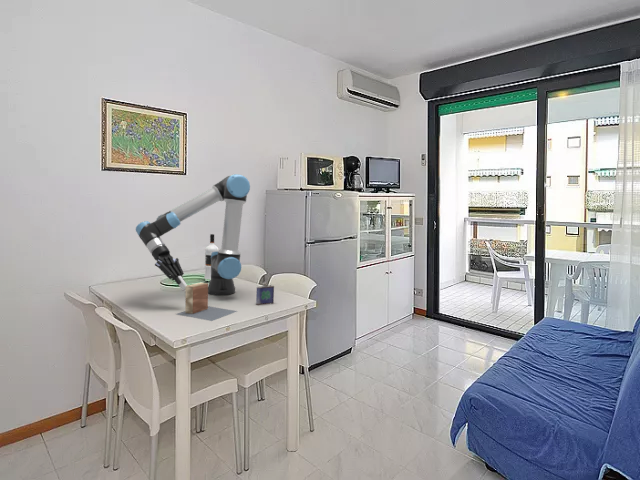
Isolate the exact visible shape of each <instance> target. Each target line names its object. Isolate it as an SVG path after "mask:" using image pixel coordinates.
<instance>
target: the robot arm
mask: <svg viewBox="0 0 640 480" xmlns="http://www.w3.org/2000/svg"><path fill="white" fill-rule="evenodd" d="M250 190H251V185H250V181H249V179H248V178H247V177H246V176H244V175H242V174H234V173H233V174H232V175H227V176H226V177H224V178H223V179H221V180H220V181H218V182H217V183H215V184H213V185H212V187H211V188H210V189H208V190H207V191H205V192H202V193H201V194H198V195H197V196H195V197H193V198H191V199H189V200H187V201H186V202H183V203H181V204H180V205H177V206H176V207H175V208H172V209H171V210H169V211H167V212H165V213H163V214H160V215H158V216H157V218H156V220H155V221H152V222H150V221H147V220H144V221H142V222H140V223H138V224H137V225H136V227H135V232H136V234H137V235H138V237H139V238H140V240H141V241H142V243H143V245H144V246H145V247H146V248H147V250H148V251H149V252H150V254H151V256H152V257H153V259H154V260H155V261H156V262H155V263H154V267H155V266H156V267H157V268H158V269H159V270H160V271H161V272H162V273H163V274H164V275H165V276H166V277H167V278H168V279H169V280H171V281H173V282H175V283H176V284H177V285H178V286H179V288H180V289H181V290H182V291H184V292H185V291H186V286H188V284H187V283H186V280H185V279H184V278H183V275H184V274H185V273H184V271H183V269H182V267H181V264H180V262H179V260H180V259H179V258H178V257H176V258H174V257H173V256H172V255H171V251H170V249H169V248H168V247H167V245H166V243H165V242H164V241H163V239H162V238H161V237H162V236H163V235H165V234H167V233H168V232H170V231H172V230H174V229H176V228H177V227H178V226H180V225H181V222H183V221H184V220H186V219H188V218H191V217H192V216H193V215H196V214H197V213H200V212H201V211H204V210H205V209H206V208H209V207H210V206H212V205H214V204H216V203H218V202H225V209H224V220H223V229H222V239H221V248H220V249H219V251H218V252H212V253H211V280H210V282H208V295H212V296H225V295H226V296H229V295H231V294H232V295H233V294H235V293H236V285H235V282H234V278H237V277H238V276H239V275H240V274H241V272H242V263H241V252H240V251H239V246H240V245H239V242H240V233H241V226H242V216H243V207H244V204H246V203H247V198H248V196H247V195H248V194H249V193H250Z"/></svg>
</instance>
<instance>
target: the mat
mask: <svg viewBox="0 0 640 480" xmlns="http://www.w3.org/2000/svg"><path fill="white" fill-rule="evenodd" d="M237 312H238V311H237V310H234V309H227V308H221V307H216V306H215V307H214V306H209V305H208V309H206V310H203V311H200V312H197V313H194V314H190V313H185V310H184V311H181V312H177V313H176V315H177V316H182V317H183V316H184V317H186V318H187V317H188V318H193V319H199V320H205V321H209V322H212V321H216V320H219V319H221V318H224V317H226V316H229V315H231V314H232V315H233V314H234V313H237Z"/></svg>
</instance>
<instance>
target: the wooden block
mask: <svg viewBox="0 0 640 480" xmlns="http://www.w3.org/2000/svg"><path fill="white" fill-rule="evenodd" d="M208 286H209V282H196V283H193V284H189V285H188V284H187V286H186V290H185V296H184V297H185V300H184V301H185V308H184V309H185V310H184V311H185V313H190V314H194V313H197V312H200V311H203V310H206V309H208V306H209V300H208V299H209V293H208Z"/></svg>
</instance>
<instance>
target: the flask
mask: <svg viewBox="0 0 640 480" xmlns="http://www.w3.org/2000/svg"><path fill="white" fill-rule="evenodd" d="M274 291H275V286H274V285H272V284H267V282H263V285H261V286H256V300H255V304H256V305H257V306H261V305H270V303H273V304H274V302H275V301H274V296H275V295H274V294H275V292H274Z"/></svg>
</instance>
